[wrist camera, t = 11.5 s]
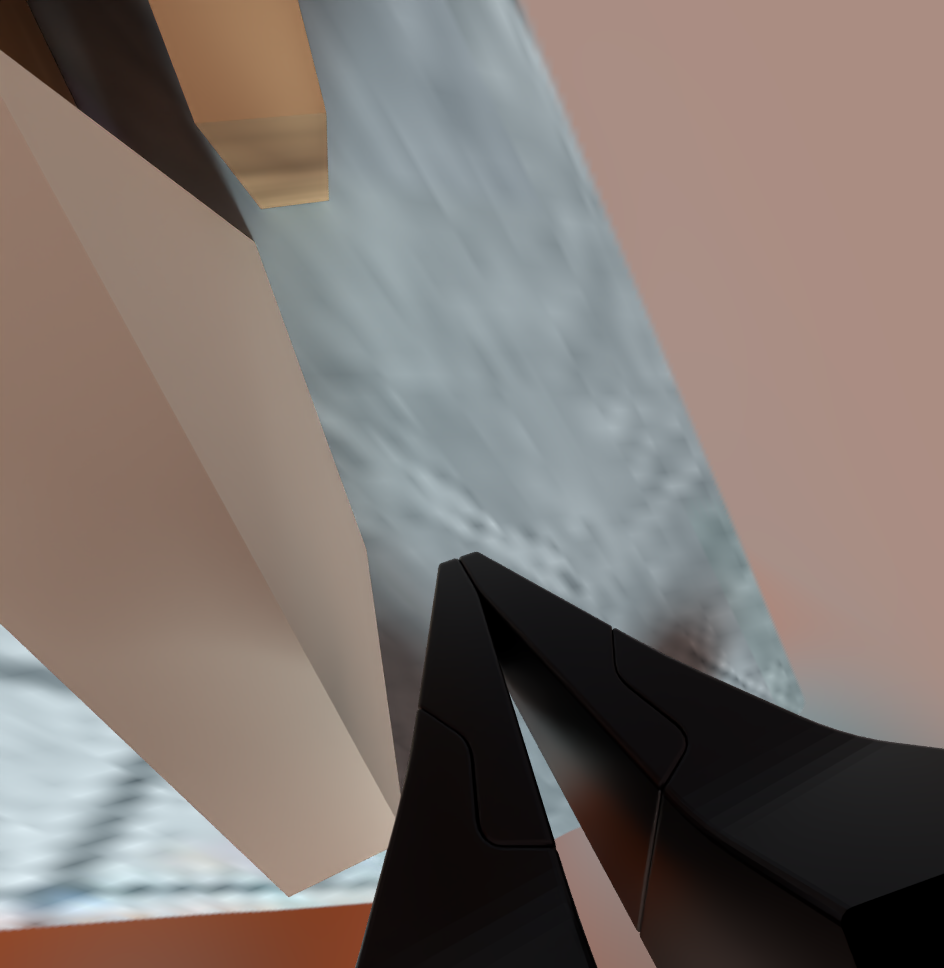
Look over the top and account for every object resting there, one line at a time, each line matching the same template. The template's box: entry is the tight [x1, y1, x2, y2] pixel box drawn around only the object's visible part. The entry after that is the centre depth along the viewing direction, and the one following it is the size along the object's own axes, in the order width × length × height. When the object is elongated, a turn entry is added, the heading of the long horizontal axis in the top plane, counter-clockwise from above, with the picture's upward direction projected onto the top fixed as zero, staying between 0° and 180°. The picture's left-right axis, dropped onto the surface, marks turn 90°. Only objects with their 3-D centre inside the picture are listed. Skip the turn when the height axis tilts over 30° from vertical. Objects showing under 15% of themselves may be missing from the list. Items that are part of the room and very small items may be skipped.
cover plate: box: [0, 50, 401, 897], centre depth 10 cm, size 12×2×11 cm, turn 9°
